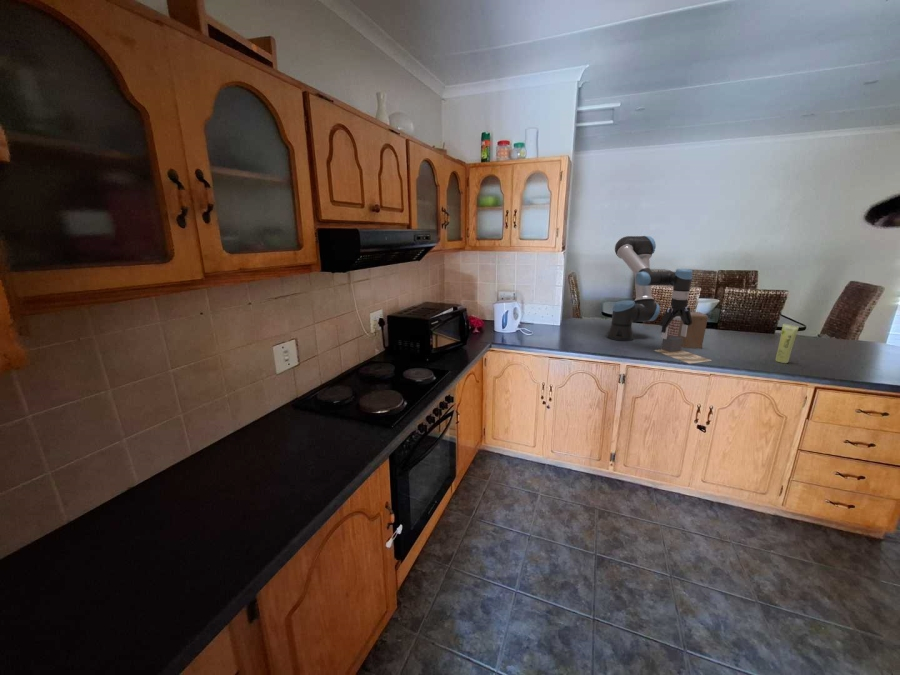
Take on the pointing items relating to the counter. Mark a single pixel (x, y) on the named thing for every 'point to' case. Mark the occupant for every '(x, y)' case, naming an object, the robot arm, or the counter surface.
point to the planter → (674, 326)
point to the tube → (786, 342)
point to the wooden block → (694, 331)
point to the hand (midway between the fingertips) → (673, 337)
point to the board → (685, 356)
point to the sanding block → (672, 344)
